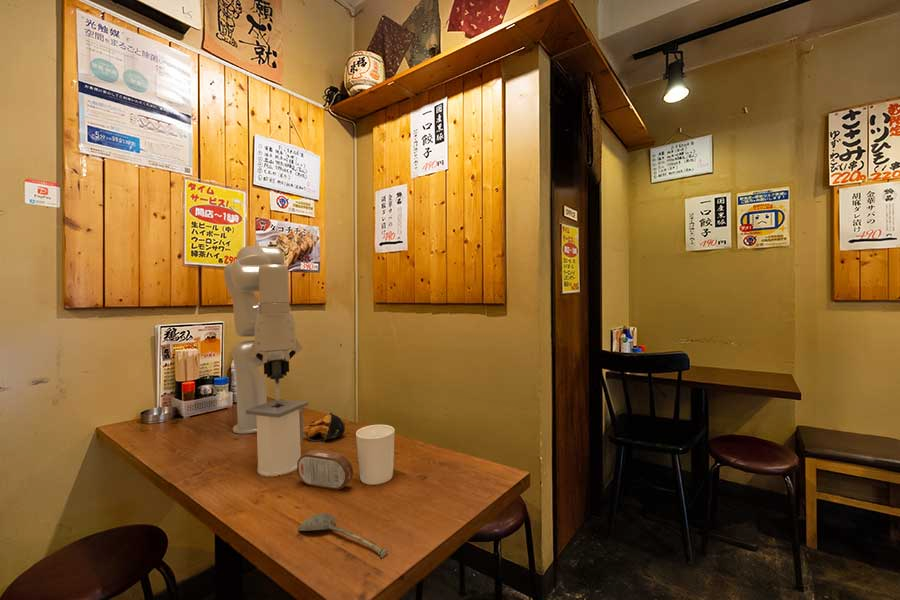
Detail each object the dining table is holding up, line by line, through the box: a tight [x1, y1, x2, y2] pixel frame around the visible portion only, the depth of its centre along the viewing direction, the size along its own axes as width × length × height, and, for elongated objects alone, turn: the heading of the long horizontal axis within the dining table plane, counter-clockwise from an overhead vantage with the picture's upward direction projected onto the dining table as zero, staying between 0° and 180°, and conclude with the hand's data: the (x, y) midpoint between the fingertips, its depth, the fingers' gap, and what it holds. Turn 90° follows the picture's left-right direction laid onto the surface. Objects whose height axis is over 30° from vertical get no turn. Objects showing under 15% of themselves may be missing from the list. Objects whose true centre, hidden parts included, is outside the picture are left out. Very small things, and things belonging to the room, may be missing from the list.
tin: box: [296, 449, 354, 491], centre depth 96 cm, size 15×3×8 cm, turn 71°
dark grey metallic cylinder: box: [269, 359, 285, 408], centre depth 107 cm, size 8×8×17 cm
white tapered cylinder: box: [355, 424, 396, 486], centre depth 100 cm, size 10×10×12 cm
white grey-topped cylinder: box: [246, 398, 309, 477], centre depth 108 cm, size 14×11×17 cm
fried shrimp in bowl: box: [303, 412, 346, 442], centre depth 126 cm, size 9×11×18 cm
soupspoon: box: [297, 512, 388, 559], centre depth 75 cm, size 22×3×7 cm
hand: (276, 375), depth 107 cm, fingers closed on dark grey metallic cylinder, 3 cm apart
